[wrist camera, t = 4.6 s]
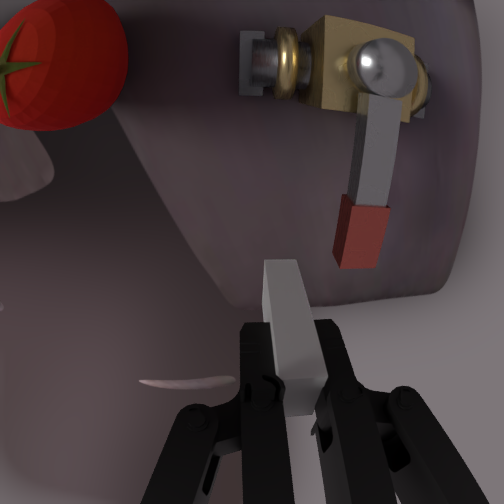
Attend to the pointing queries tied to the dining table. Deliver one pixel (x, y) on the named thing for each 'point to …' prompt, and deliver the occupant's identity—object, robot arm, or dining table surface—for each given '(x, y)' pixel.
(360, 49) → the lever
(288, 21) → the dining table surface
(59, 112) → the tomato
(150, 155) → the dining table surface
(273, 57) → the valve
